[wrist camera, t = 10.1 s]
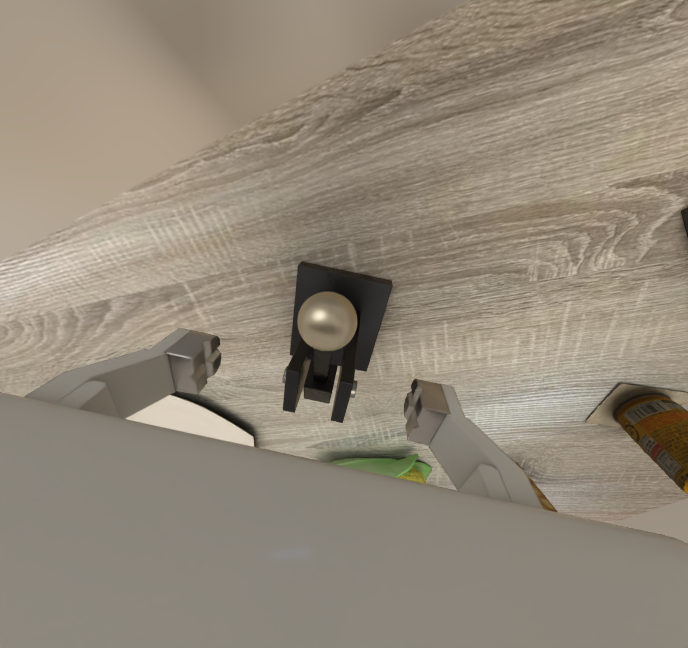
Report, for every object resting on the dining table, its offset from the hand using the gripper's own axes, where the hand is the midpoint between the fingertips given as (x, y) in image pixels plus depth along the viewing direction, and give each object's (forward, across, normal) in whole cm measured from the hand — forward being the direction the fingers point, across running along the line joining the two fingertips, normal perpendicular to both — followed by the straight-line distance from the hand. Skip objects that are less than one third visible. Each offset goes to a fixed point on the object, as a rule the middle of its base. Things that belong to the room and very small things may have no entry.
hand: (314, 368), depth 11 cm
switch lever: (+7, 0, +3) cm, 8 cm away
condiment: (+19, -39, +12) cm, 45 cm away
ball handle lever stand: (+19, 0, +8) cm, 20 cm away
